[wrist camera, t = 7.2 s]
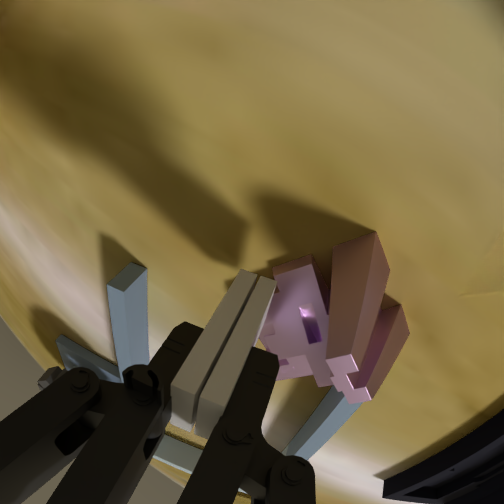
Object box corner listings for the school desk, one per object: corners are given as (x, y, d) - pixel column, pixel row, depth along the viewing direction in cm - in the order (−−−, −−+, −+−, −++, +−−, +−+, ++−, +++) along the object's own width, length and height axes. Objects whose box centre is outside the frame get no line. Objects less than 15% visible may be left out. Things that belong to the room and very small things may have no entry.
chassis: (36, 221, 20) (-39, 271, 13) (379, 348, 16) (375, 469, 10) (82, 393, 32) (51, 436, 26) (272, 477, 29) (254, 532, 23)
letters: (287, 358, 19) (263, 436, 14) (234, 272, 17) (187, 347, 12) (412, 328, 16) (422, 416, 11) (377, 221, 14) (389, 298, 9)
